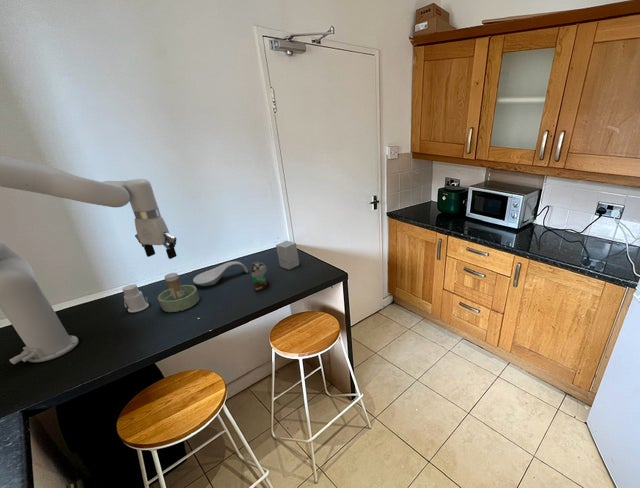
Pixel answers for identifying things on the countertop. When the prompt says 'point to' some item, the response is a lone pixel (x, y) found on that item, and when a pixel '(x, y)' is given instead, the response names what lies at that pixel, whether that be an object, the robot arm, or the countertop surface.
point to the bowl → (180, 304)
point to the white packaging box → (287, 254)
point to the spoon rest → (215, 274)
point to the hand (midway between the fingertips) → (162, 256)
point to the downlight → (134, 299)
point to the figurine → (259, 275)
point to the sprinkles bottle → (174, 286)
